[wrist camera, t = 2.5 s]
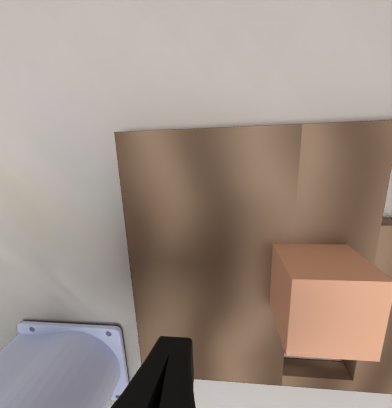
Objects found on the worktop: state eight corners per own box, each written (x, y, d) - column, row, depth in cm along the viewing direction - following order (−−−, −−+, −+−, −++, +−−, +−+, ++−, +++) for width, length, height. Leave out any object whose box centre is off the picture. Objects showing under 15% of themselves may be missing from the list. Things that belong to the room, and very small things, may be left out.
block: (269, 303, 15) (286, 355, 12) (272, 243, 14) (292, 279, 11) (338, 306, 15) (379, 361, 11) (347, 244, 14) (396, 282, 10)
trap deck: (148, 358, 20) (142, 375, 18) (124, 133, 15) (114, 132, 14) (466, 379, 17) (488, 401, 16) (555, 115, 12) (599, 110, 11)
